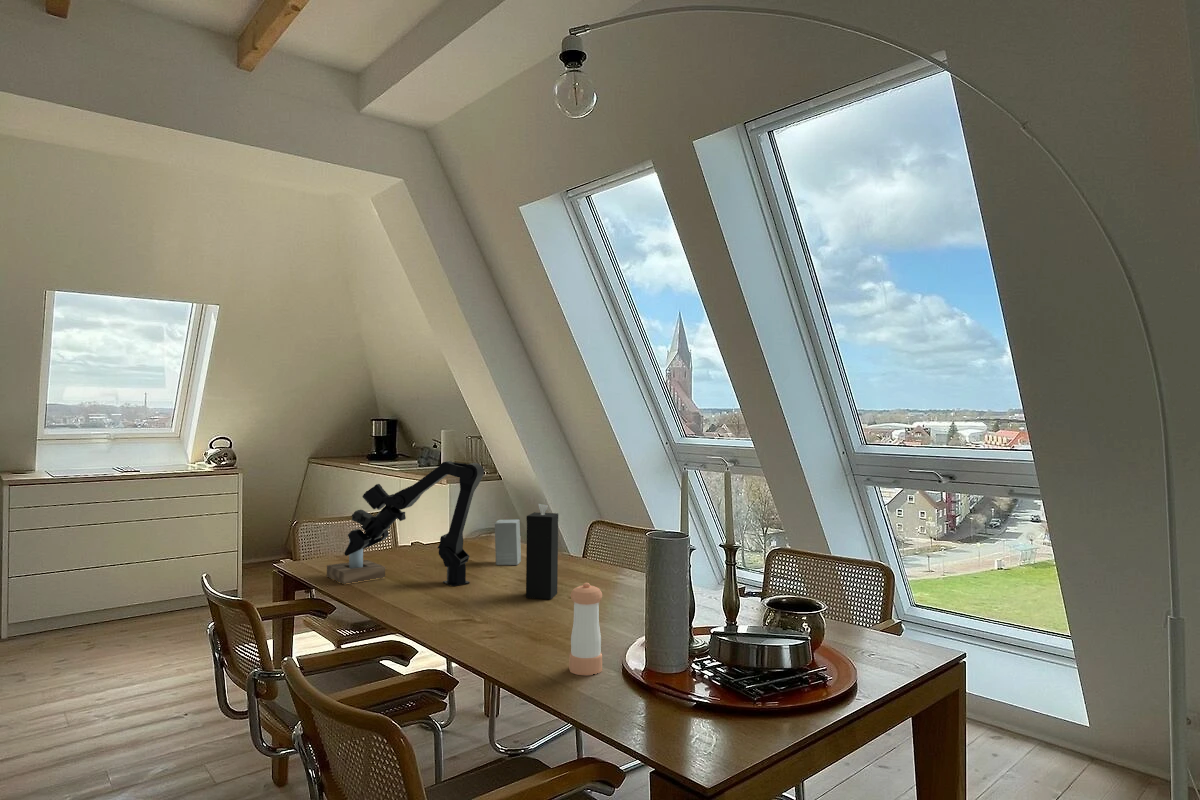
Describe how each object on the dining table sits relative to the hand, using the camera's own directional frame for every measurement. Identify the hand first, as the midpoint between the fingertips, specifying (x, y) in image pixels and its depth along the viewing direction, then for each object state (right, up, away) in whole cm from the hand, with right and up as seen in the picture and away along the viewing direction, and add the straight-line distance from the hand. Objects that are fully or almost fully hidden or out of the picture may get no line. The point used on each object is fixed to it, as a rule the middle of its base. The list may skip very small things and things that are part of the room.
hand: (352, 552), depth 257 cm
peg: (+1, -9, 0) cm, 9 cm away
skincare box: (+48, -9, +25) cm, 55 cm away
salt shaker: (+79, -9, -85) cm, 116 cm away
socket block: (+1, -9, 0) cm, 9 cm away
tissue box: (+64, -9, -21) cm, 68 cm away
